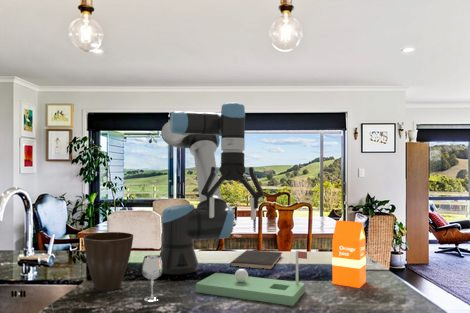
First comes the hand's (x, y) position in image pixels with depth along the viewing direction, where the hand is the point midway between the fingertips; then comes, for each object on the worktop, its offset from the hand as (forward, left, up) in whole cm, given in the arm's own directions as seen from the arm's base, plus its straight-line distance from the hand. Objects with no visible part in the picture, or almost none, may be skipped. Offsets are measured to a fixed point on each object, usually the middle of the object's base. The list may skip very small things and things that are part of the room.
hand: (232, 218), depth 130 cm
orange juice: (+34, +18, -21) cm, 44 cm away
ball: (+5, -4, -17) cm, 18 cm away
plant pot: (-34, -18, -21) cm, 44 cm away
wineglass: (-15, -22, -21) cm, 34 cm away
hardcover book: (-4, +35, -22) cm, 42 cm away
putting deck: (+8, -4, -21) cm, 23 cm away
